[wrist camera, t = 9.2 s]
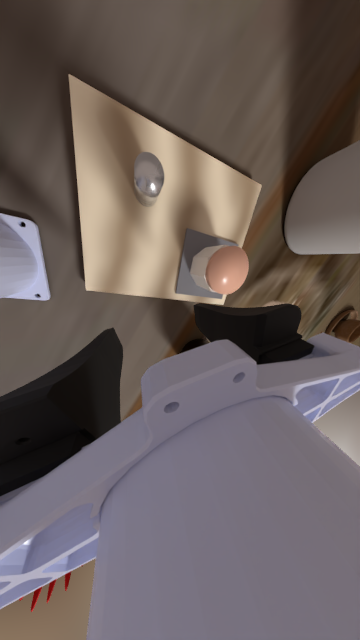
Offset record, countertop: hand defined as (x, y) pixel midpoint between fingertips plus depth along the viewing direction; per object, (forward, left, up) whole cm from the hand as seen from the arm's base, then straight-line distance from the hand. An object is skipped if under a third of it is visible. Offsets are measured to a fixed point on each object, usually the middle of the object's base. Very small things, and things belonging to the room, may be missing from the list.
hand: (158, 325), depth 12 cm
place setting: (+63, -6, -10) cm, 64 cm away
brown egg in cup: (+8, +6, -7) cm, 12 cm away
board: (+3, +8, -9) cm, 13 cm away
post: (-1, +11, -8) cm, 14 cm away
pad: (+8, +5, -8) cm, 12 cm away
